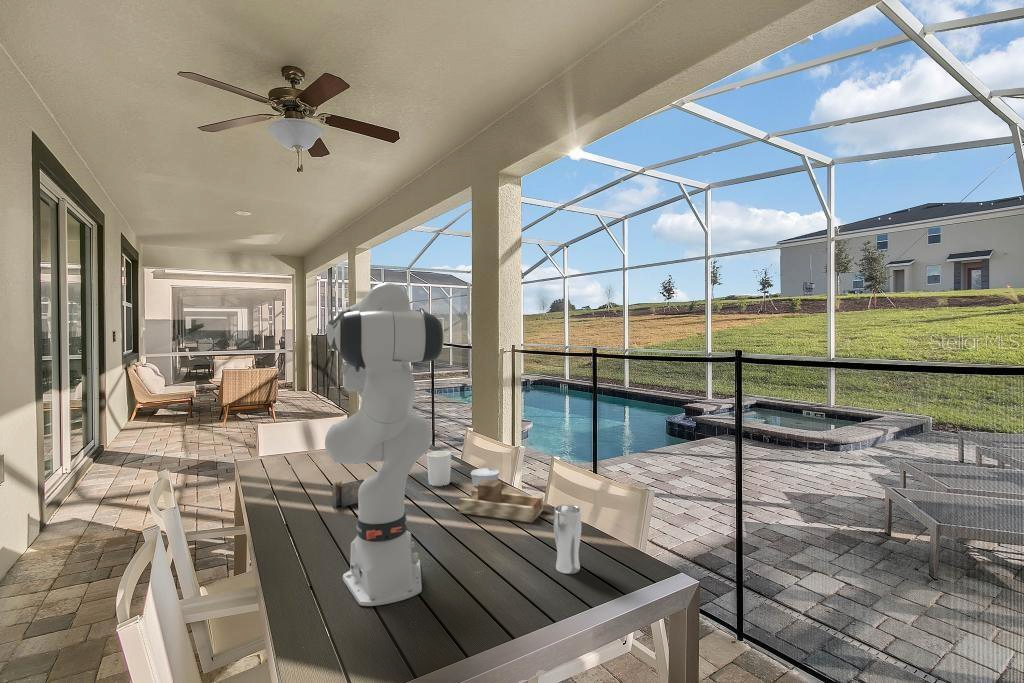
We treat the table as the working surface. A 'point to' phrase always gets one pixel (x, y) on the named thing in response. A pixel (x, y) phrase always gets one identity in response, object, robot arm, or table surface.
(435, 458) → the candle holder
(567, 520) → the beer glass
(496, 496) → the walnut block
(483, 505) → the pine chute
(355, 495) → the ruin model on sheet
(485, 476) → the ramekin
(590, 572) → the table surface
